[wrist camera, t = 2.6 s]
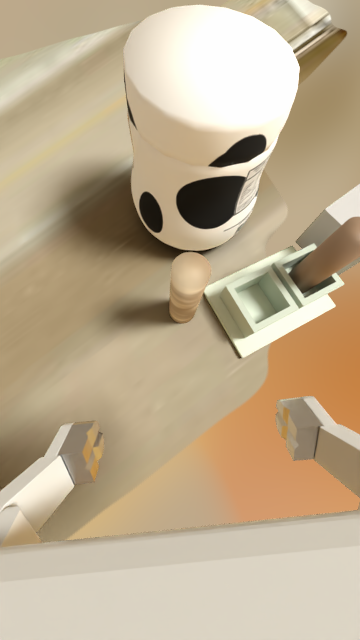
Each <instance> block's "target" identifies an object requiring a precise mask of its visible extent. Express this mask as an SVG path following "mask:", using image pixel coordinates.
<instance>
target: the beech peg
mask: <svg viewBox="0 0 360 640" xmlns="http://www.w3.org/2000/svg"><path fill="white" fill-rule="evenodd" d="M210 276H211V266H210V264H209V262H208V260H207V259H206V258H205V257H204V256H202V255H201V254H198V253H195V252H185V253H182V254H180V255H179V256H177V257H176V258H175V259H174V261H173V263H172V266H171V282H170V303H169V314H170V316H171V318H172V319H173V320H174V321H176V322H178V323H187V322H189V321H190V320H191V319H192V318H193V317H194V314H195V312H196V310H197V307H198V305H199V302H200V300H201V298H202V295H203V293H204V290H205V288H206V285H207V283H208V281H209V278H210Z"/></svg>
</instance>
